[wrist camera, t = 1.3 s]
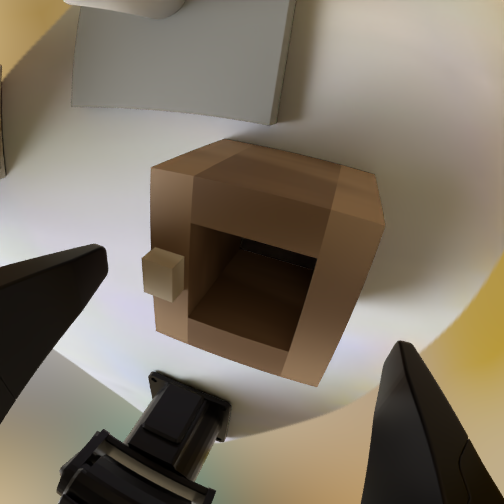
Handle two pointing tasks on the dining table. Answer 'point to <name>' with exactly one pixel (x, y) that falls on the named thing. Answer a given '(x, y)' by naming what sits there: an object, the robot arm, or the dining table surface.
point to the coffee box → (0, 158)
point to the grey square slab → (183, 56)
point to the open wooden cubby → (255, 265)
